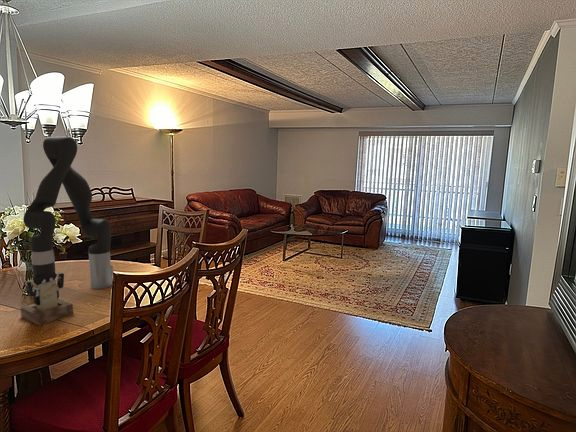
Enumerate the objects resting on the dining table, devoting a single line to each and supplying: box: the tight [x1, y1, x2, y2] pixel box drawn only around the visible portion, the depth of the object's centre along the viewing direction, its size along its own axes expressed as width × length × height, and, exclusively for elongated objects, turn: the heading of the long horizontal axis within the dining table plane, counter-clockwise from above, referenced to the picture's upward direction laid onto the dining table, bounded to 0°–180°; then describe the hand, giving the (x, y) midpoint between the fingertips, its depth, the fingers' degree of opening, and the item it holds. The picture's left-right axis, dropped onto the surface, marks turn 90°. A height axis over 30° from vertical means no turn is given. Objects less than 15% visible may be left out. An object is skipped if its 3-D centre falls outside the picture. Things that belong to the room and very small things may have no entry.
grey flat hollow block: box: [20, 298, 74, 326], centre depth 152 cm, size 13×13×4 cm
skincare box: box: [34, 279, 58, 311], centre depth 151 cm, size 6×4×12 cm
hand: (46, 301), depth 152 cm, fingers closed on skincare box, 6 cm apart
